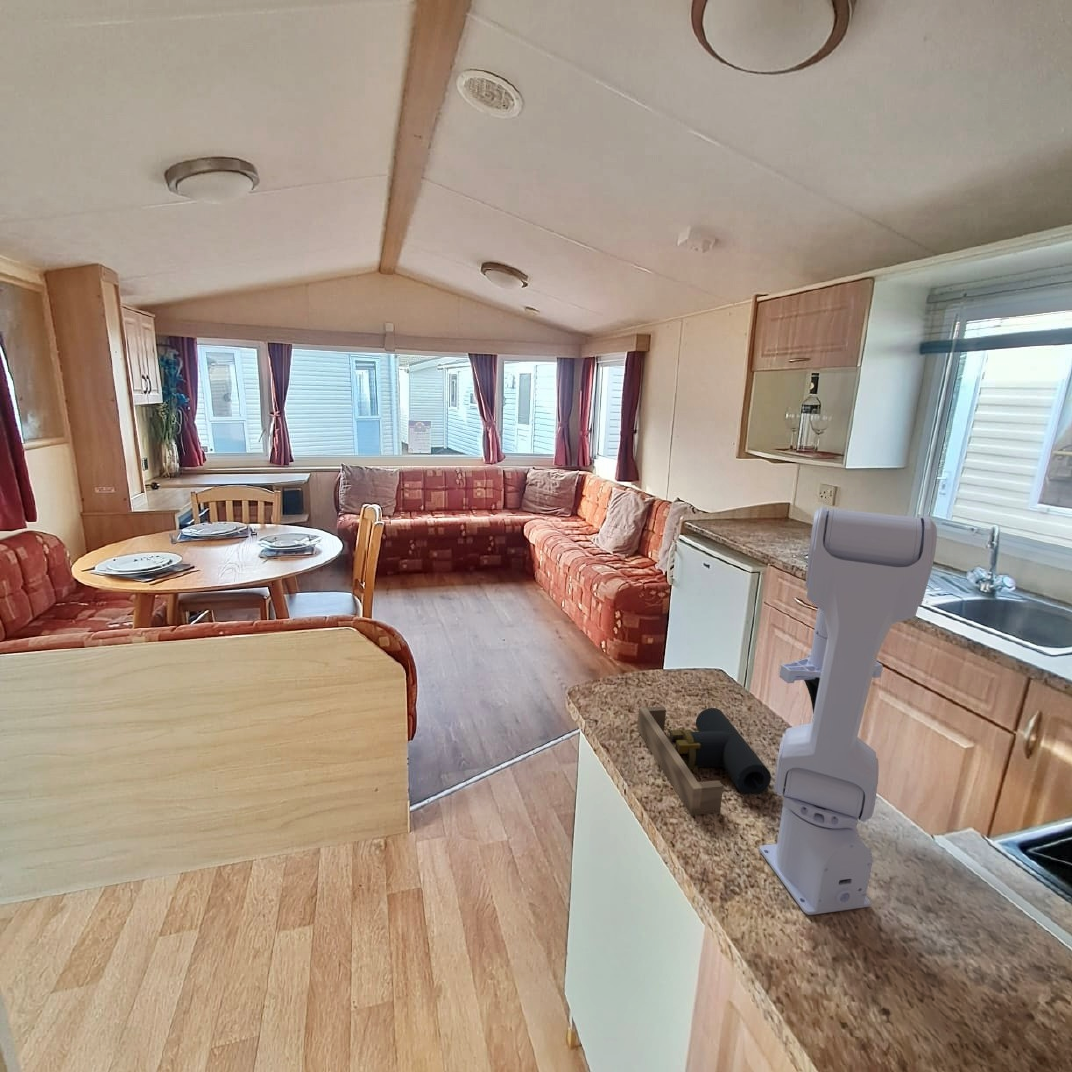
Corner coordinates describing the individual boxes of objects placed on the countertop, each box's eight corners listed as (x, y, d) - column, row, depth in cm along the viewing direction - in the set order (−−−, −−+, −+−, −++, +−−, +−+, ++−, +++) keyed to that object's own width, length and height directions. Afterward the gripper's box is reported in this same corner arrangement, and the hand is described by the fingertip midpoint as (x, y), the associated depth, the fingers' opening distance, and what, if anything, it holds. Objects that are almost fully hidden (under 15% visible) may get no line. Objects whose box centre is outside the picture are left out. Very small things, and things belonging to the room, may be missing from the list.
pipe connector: (694, 765, 78) (659, 707, 93) (689, 798, 79) (655, 736, 94) (773, 763, 79) (726, 706, 94) (768, 796, 81) (722, 735, 95)
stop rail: (720, 812, 76) (723, 786, 75) (690, 815, 76) (693, 788, 75) (661, 727, 96) (663, 706, 95) (637, 729, 95) (639, 707, 94)
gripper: (862, 621, 83) (847, 706, 86) (772, 625, 80) (760, 712, 84) (900, 641, 77) (883, 732, 80) (804, 646, 74) (789, 740, 77)
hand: (822, 724), depth 81 cm, fingers closed
